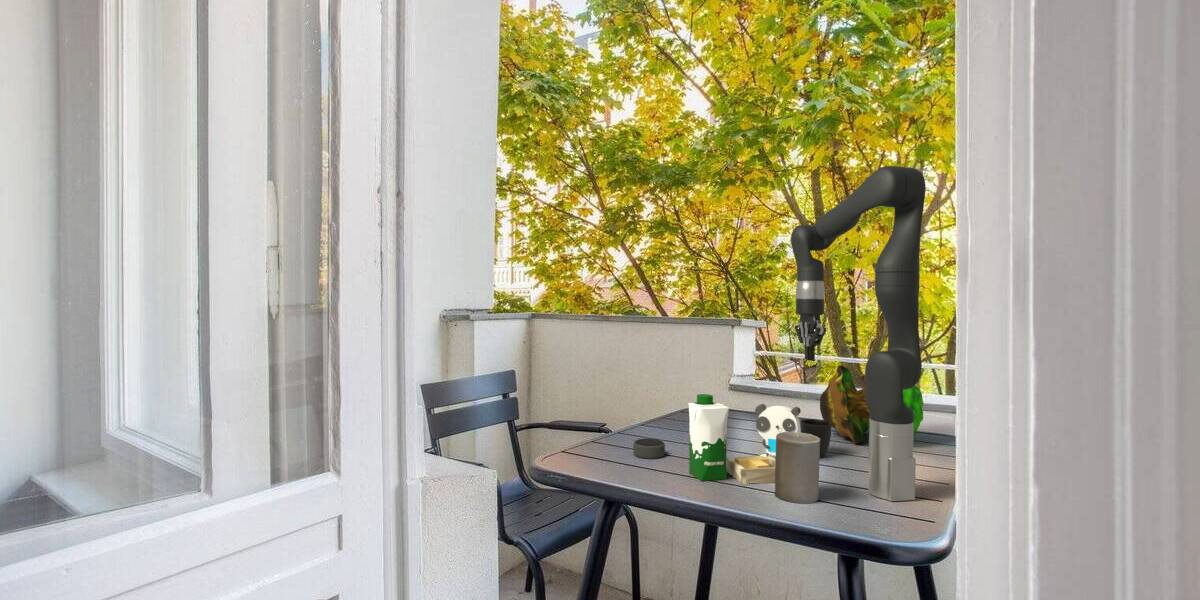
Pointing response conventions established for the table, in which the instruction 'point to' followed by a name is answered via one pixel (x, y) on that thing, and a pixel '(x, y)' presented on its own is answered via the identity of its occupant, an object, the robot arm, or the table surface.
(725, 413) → the milk carton
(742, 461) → the yellow cheese wedge
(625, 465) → the table surface
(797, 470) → the pillar candle
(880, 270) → the robot arm
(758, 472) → the beige shallow open box
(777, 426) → the panda figurine
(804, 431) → the mug
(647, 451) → the smart speaker
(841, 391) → the decorative tree
